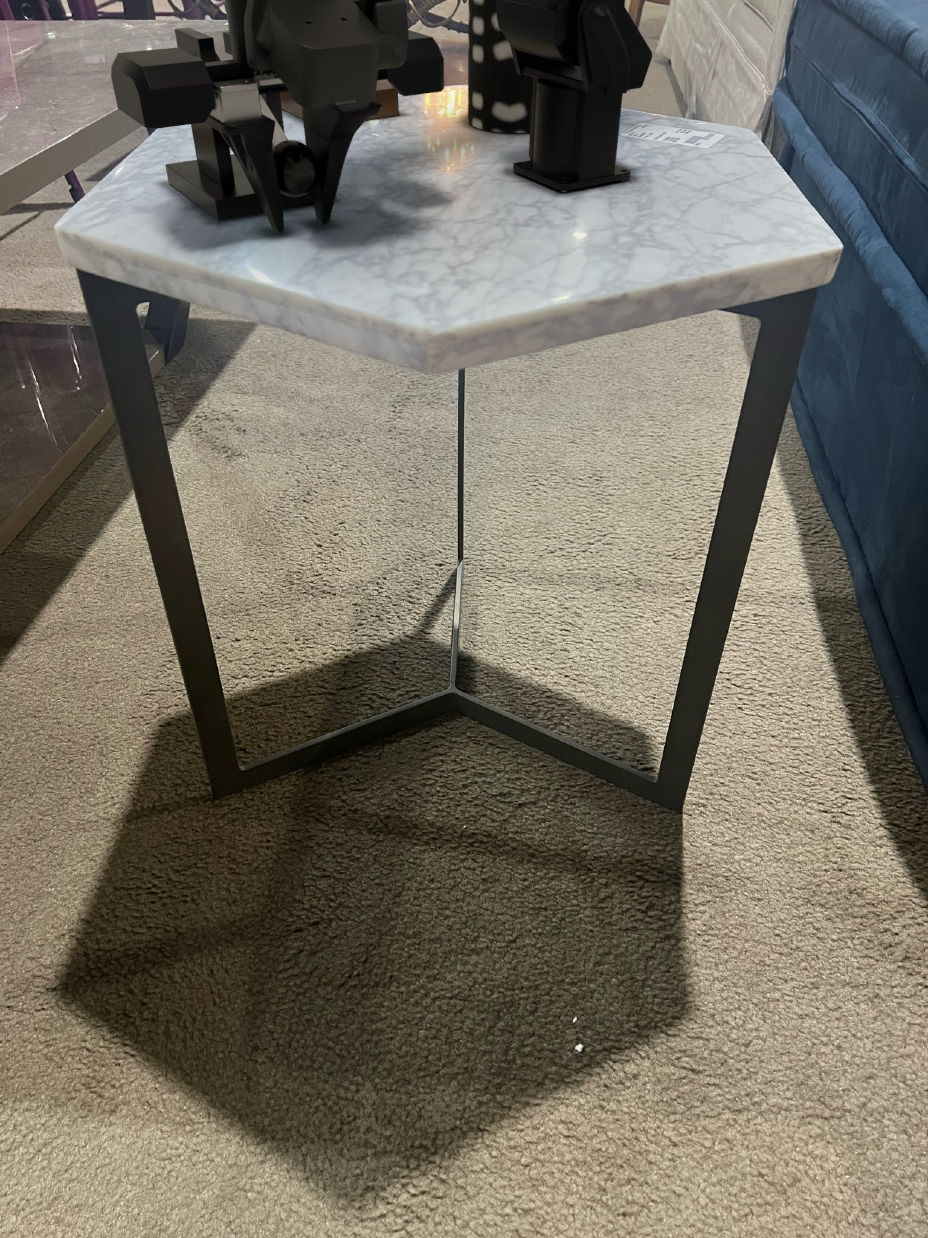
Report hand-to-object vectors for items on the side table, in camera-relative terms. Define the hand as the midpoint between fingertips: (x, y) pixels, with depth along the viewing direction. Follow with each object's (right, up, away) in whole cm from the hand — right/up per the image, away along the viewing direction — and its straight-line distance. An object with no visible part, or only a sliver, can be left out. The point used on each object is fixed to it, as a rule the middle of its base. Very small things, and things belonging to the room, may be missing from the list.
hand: (300, 226), depth 60 cm
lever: (-3, +6, +1) cm, 7 cm away
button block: (-1, +21, +25) cm, 33 cm away
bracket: (-5, +5, +6) cm, 9 cm away
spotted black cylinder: (+15, +18, +22) cm, 32 cm away
